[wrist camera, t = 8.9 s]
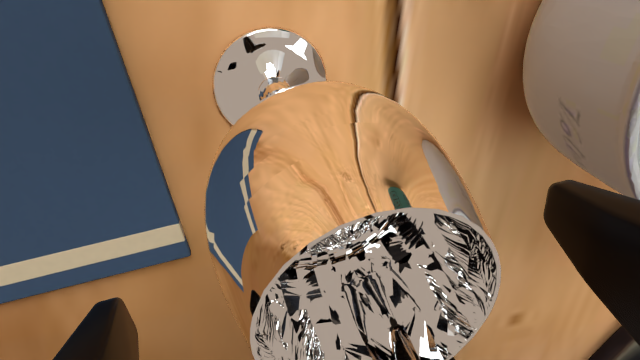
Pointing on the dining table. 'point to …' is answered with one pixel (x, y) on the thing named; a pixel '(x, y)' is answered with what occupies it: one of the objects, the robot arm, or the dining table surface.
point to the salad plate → (618, 348)
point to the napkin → (74, 155)
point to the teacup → (588, 85)
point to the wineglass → (338, 216)
